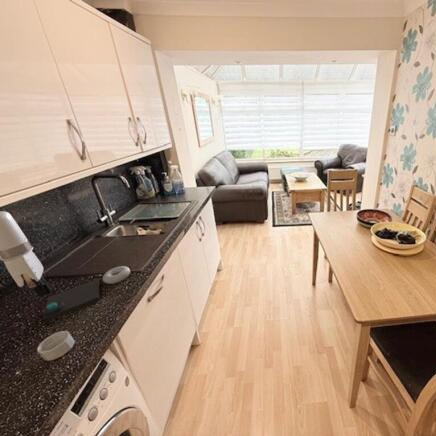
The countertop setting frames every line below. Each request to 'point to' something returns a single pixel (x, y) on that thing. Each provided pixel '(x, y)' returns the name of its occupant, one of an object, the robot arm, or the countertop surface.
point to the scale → (72, 299)
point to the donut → (116, 275)
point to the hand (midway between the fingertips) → (46, 293)
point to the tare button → (52, 306)
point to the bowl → (56, 345)
